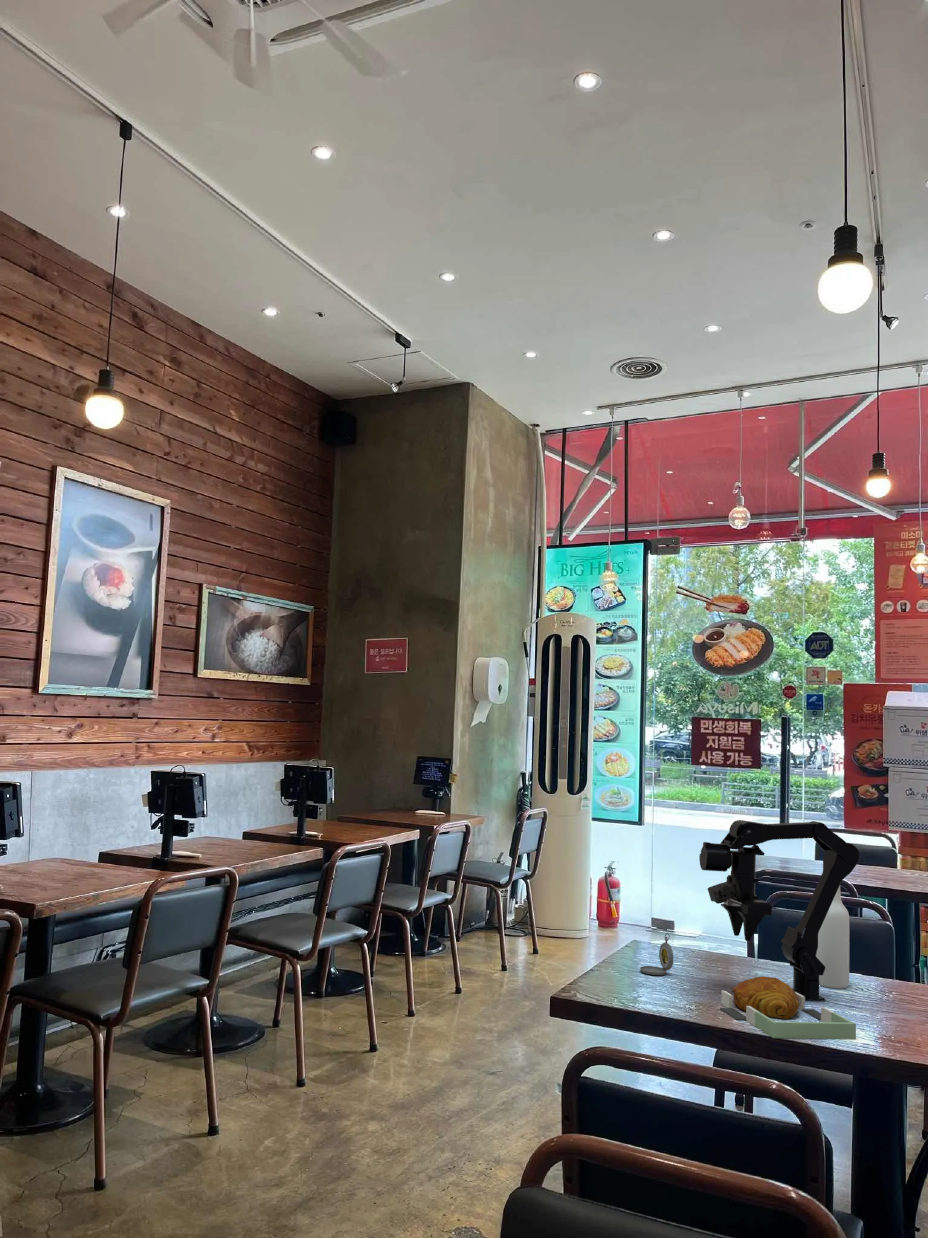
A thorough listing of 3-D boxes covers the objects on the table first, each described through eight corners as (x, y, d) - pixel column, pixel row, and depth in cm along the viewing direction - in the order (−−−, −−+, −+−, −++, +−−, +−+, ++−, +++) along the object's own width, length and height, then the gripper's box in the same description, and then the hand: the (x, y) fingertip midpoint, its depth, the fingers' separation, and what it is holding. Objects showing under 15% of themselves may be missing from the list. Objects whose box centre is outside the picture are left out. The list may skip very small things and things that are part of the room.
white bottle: (850, 991, 229) (851, 869, 233) (813, 986, 232) (814, 866, 236) (847, 983, 238) (848, 865, 242) (811, 978, 240) (813, 862, 244)
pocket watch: (635, 972, 235) (636, 932, 237) (652, 968, 241) (653, 929, 243) (663, 979, 230) (664, 938, 231) (679, 974, 236) (681, 934, 237)
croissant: (793, 1015, 213) (794, 978, 215) (802, 1024, 199) (803, 985, 201) (730, 1005, 217) (731, 969, 219) (734, 1013, 202) (735, 975, 204)
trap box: (712, 1004, 210) (712, 990, 210) (804, 1005, 213) (804, 992, 214) (763, 1038, 186) (763, 1022, 187) (865, 1039, 190) (865, 1024, 190)
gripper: (696, 866, 232) (694, 929, 230) (730, 877, 214) (728, 946, 211) (737, 867, 234) (735, 930, 232) (774, 879, 215) (772, 947, 213)
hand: (741, 938), depth 222 cm, fingers open, 5 cm apart
